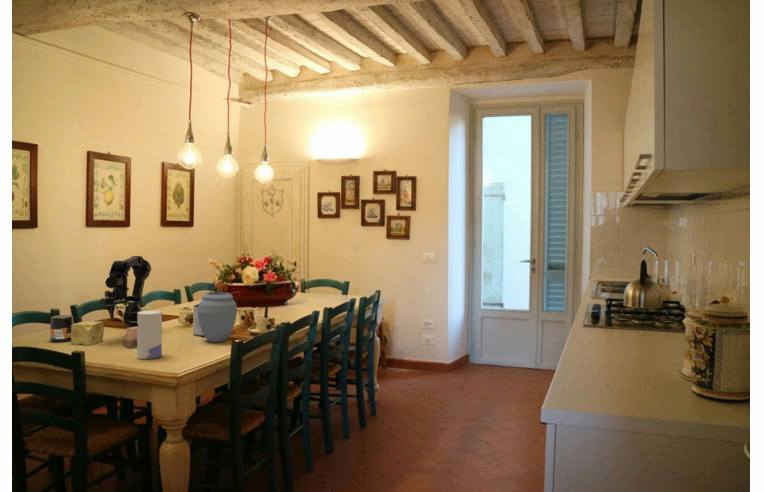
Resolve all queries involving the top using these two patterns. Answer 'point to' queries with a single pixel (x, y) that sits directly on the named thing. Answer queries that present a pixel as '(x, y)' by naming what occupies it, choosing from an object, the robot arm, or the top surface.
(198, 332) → the planter
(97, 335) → the cheese
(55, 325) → the supplement container
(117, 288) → the robot arm
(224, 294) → the vase
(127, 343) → the mauve short cylinder
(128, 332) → the pink cube
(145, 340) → the container
